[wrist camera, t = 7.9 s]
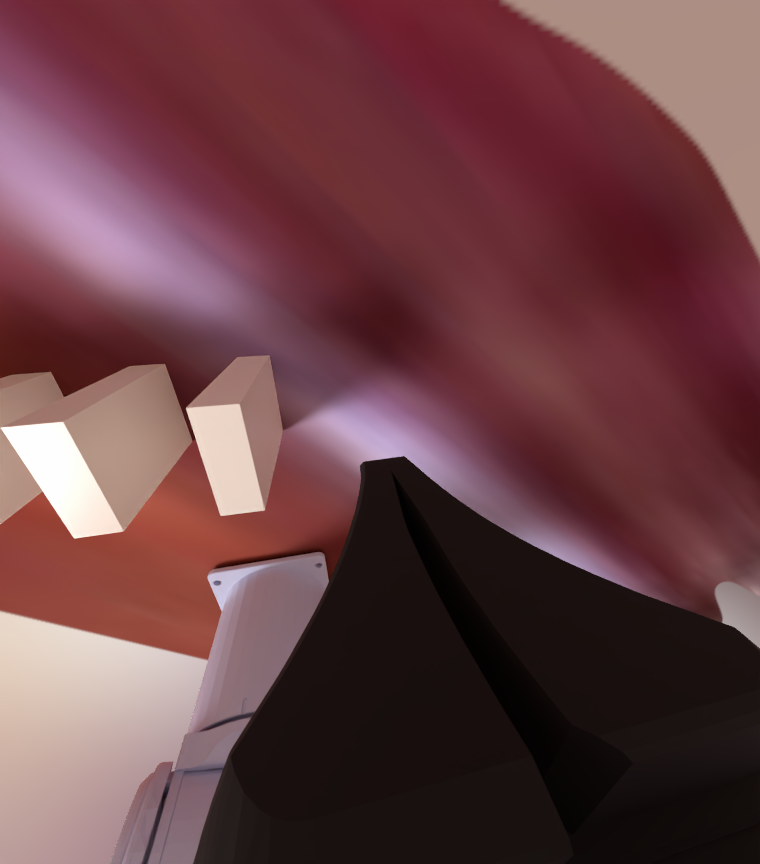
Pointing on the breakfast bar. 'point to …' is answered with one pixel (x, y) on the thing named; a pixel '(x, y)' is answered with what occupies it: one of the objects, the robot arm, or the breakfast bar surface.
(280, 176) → the breakfast bar surface
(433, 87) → the breakfast bar surface
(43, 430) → the domino
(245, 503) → the domino
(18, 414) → the domino
